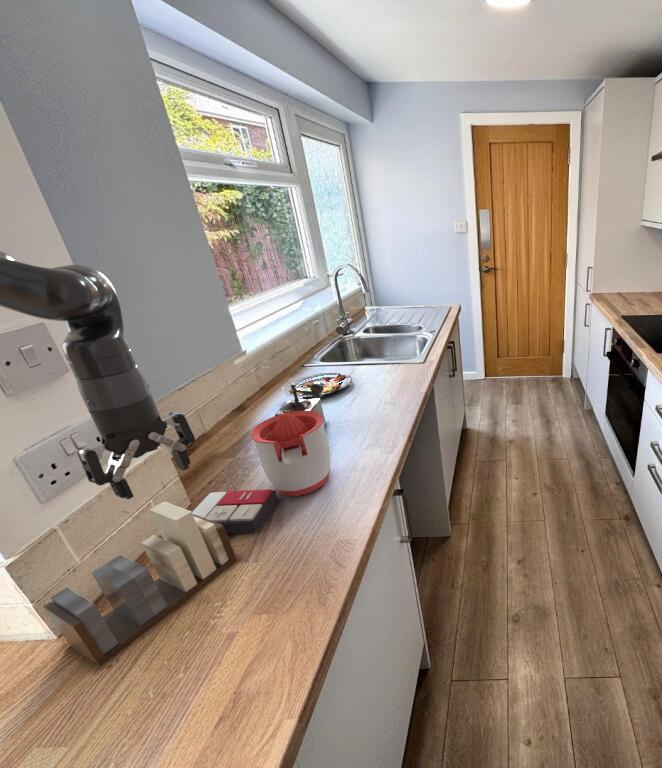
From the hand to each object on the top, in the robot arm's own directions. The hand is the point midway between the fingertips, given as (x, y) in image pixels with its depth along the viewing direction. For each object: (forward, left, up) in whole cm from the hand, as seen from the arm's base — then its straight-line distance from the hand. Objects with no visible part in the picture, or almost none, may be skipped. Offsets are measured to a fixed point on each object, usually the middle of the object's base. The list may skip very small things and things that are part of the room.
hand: (157, 482), depth 70 cm
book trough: (0, -6, -21) cm, 22 cm away
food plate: (-49, +76, -21) cm, 93 cm away
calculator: (-8, +13, -21) cm, 26 cm away
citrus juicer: (-3, +28, -21) cm, 35 cm away
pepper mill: (-23, +49, -21) cm, 58 cm away
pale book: (0, 0, -20) cm, 20 cm away
